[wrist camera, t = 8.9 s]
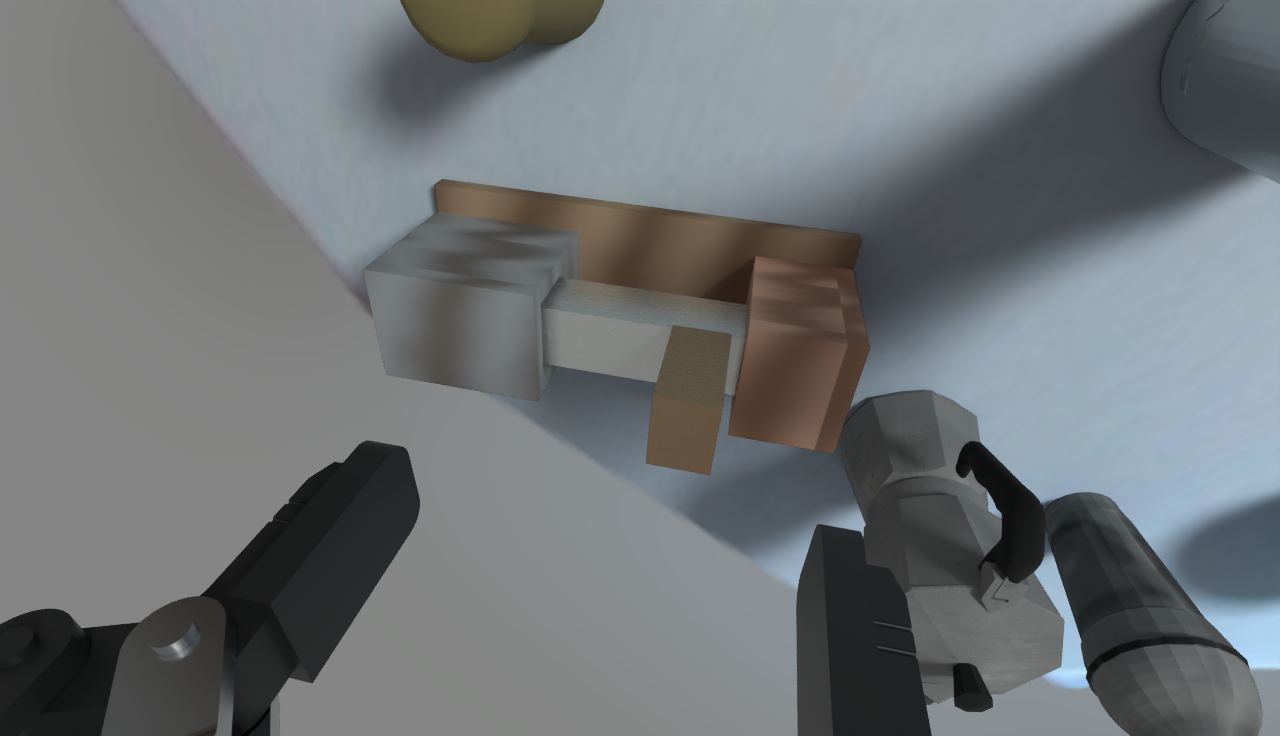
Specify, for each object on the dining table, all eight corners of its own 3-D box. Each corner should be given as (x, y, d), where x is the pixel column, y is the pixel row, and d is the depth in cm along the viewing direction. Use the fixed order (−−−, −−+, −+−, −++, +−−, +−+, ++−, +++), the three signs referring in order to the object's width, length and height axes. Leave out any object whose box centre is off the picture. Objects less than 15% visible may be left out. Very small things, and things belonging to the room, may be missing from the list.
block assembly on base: (859, 234, 34) (881, 316, 26) (817, 377, 40) (825, 476, 32) (442, 179, 37) (355, 238, 29) (460, 319, 43) (391, 398, 35)
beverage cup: (1160, 529, 41) (1402, 900, 25) (1047, 561, 45) (1196, 903, 29) (1118, 462, 39) (1355, 824, 23) (1002, 502, 43) (1137, 838, 26)
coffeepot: (942, 518, 44) (1020, 792, 30) (813, 493, 46) (829, 747, 31) (1037, 345, 35) (1214, 618, 21) (874, 320, 37) (936, 563, 22)
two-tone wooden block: (823, 313, 32) (836, 427, 25) (806, 372, 35) (814, 494, 27) (527, 268, 34) (453, 361, 27) (530, 328, 37) (462, 429, 29)
